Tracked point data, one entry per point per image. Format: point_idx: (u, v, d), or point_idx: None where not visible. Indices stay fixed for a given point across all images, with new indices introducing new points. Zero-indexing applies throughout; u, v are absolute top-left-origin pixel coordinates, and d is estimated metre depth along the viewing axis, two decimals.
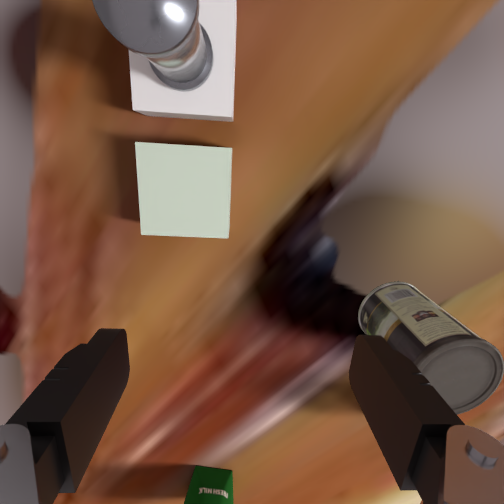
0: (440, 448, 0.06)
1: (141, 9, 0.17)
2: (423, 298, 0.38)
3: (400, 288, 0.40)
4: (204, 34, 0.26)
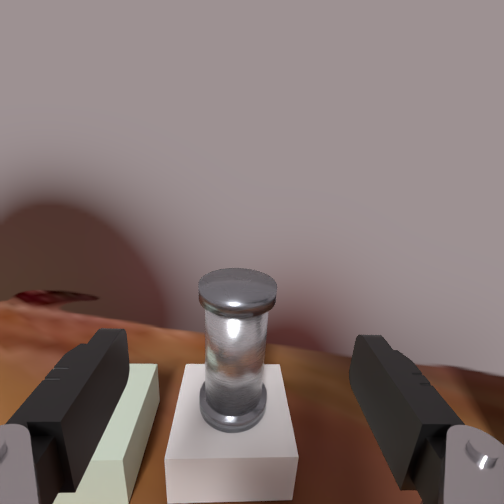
0: (440, 448, 0.06)
1: (226, 281, 0.22)
2: None
3: None
4: (252, 414, 0.24)
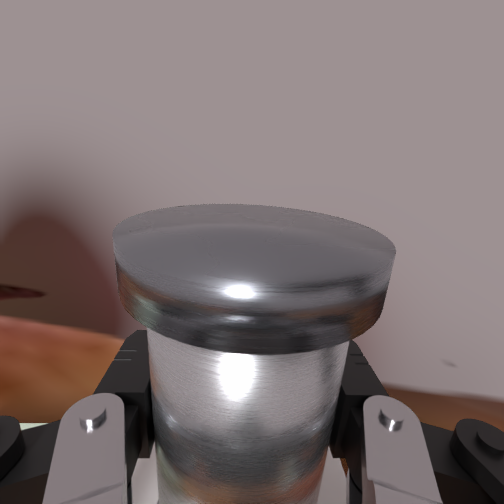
0: (360, 416, 0.07)
1: (216, 223, 0.07)
2: None
3: None
4: None
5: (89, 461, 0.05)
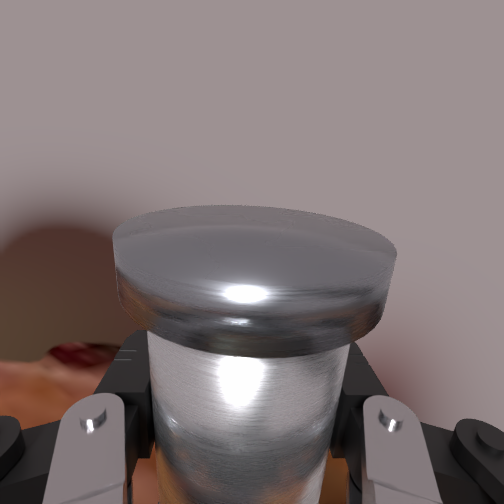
0: (360, 416, 0.07)
1: (216, 225, 0.07)
2: None
3: None
4: None
5: (89, 461, 0.05)
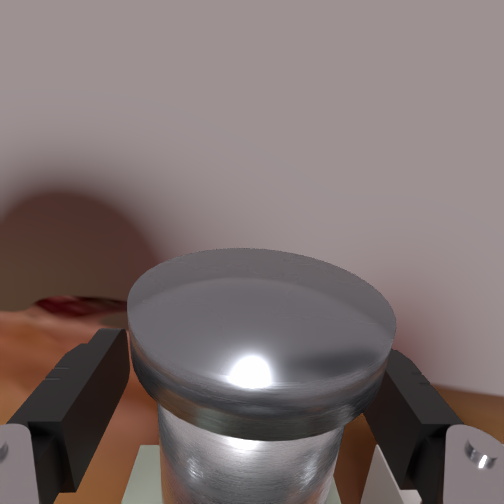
0: (439, 448, 0.06)
1: (224, 283, 0.07)
2: None
3: None
4: None
5: None
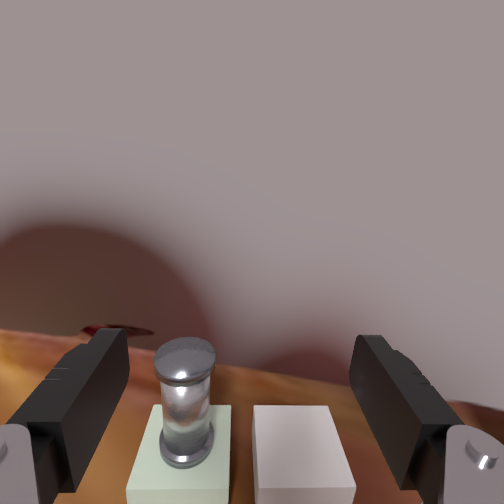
0: (440, 448, 0.06)
1: (176, 353, 0.29)
2: None
3: None
4: (198, 453, 0.31)
5: None
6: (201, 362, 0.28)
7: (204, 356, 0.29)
